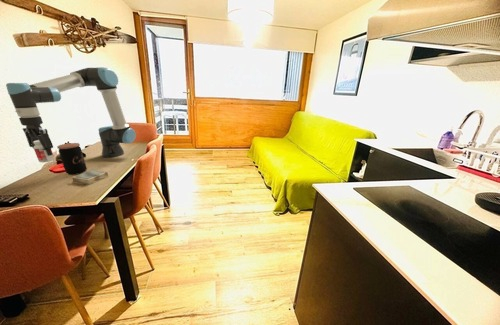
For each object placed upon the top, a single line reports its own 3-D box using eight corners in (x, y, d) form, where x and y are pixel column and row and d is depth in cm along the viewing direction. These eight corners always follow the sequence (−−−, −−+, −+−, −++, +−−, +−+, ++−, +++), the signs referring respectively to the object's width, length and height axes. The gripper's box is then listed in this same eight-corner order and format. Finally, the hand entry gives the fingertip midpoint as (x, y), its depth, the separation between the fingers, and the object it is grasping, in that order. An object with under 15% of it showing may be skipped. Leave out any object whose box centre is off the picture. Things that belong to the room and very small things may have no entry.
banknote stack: (93, 174, 127) (92, 169, 126) (108, 176, 124) (107, 171, 123) (73, 182, 116) (71, 176, 115) (89, 184, 113) (87, 179, 112)
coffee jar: (78, 175, 125) (69, 147, 119) (61, 174, 125) (51, 147, 119) (91, 168, 135) (83, 143, 129) (75, 168, 135) (67, 142, 129)
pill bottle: (43, 163, 103) (34, 142, 99) (36, 161, 106) (28, 141, 101) (57, 159, 109) (50, 139, 105) (51, 158, 111) (43, 138, 107)
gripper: (6, 116, 98) (25, 160, 106) (33, 118, 93) (51, 164, 101) (26, 114, 104) (42, 156, 113) (52, 116, 100) (67, 159, 108)
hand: (46, 160), depth 107 cm, fingers closed on pill bottle, 6 cm apart
